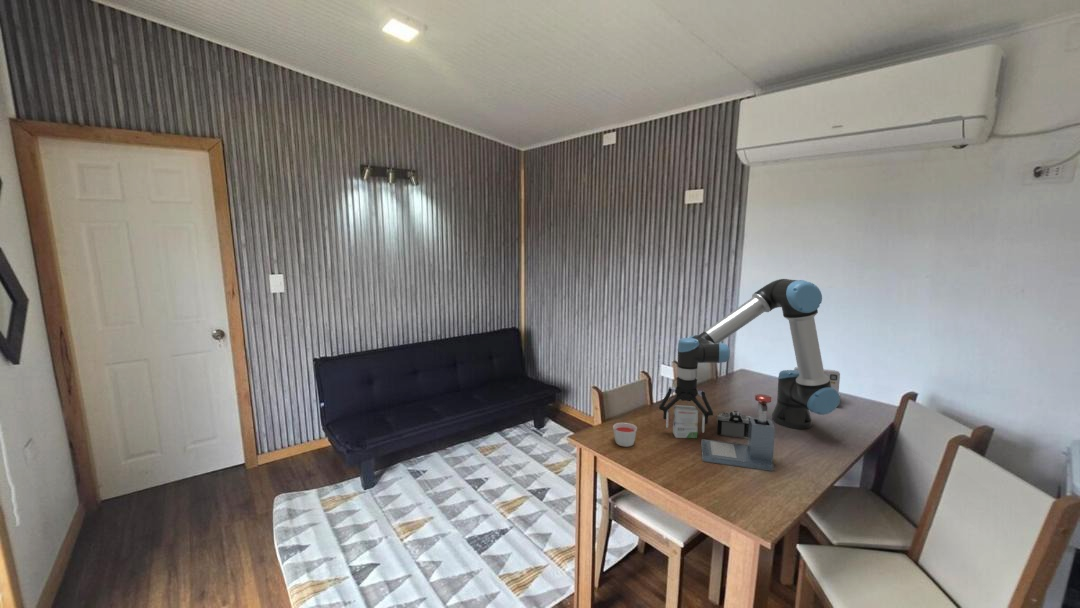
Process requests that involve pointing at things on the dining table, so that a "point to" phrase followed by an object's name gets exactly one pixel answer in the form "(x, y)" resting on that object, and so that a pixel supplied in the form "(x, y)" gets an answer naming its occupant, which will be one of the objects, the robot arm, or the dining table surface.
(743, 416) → the camera
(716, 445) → the press
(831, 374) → the instant camera
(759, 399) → the plunger
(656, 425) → the dining table surface
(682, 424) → the ink box
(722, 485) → the dining table surface
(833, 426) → the dining table surface
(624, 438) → the candle
